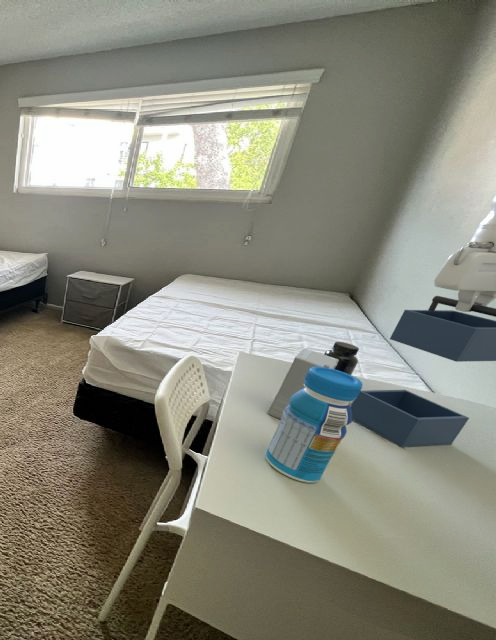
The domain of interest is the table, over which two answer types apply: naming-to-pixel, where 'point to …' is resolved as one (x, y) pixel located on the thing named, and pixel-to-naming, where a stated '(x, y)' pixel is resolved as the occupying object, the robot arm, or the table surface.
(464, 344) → the upper bin
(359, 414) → the lower bin
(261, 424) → the table surface
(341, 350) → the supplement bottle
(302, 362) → the cosmetic box
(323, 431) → the blue vitamin bottle
